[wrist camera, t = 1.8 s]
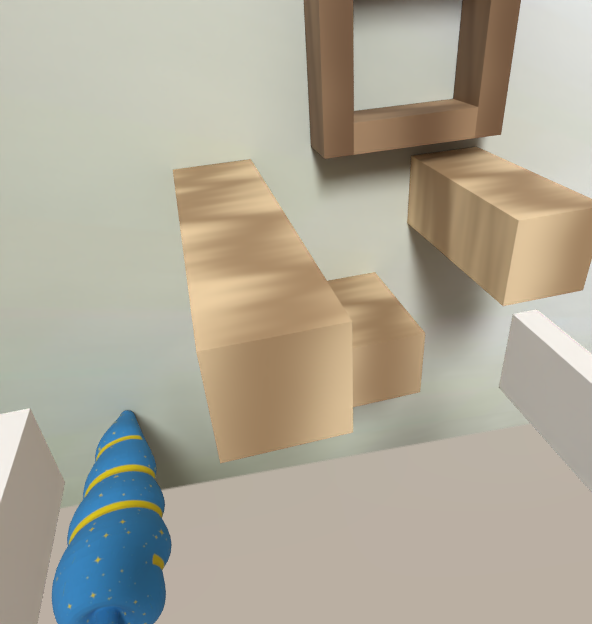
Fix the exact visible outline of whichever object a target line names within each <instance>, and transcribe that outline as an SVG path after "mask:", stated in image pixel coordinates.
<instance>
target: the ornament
mask: <svg viewBox="0 0 592 624" xmlns="http://www.w3.org/2000/svg"><path fill="white" fill-rule="evenodd" d="M155 476H156V463H155V459H154V456H153V454H152V452H151V450H150V448H149V446H148V444H147V442H146V440H145V438H144V436H143V434H142V431H141V429H140V427H139V425H138V422H137V420H136V417H135V415H134V413H133V412H132V411H129V410H126V411H124V412H122V413H121V415H120V416H119V418H118V419H117V420H116V421H115V422H114V424H113V425H112V426H111V427H110V428H109V429H108V430H107V431H106V433H105V434H104V435H103V437H102V438H101V440H100V442H99V444H98V447H97V450H96V455H95V464H94V466H93V467H92V469H91V471H90V473H89V475H88V477H87V480H86V482H85V487H84V492H83V501H82V502H81V503H80V505H79V507H78V508H77V510H76V512H75V514H74V516H73V518H72V521H71V523H70V526H69V531H68V537H67V544H68V547H67V549H66V550H65V552H64V554H63V556H62V558H61V560H60V562H59V565H58V567H57V570H56V573H55V577H54V580H53V586H52V605H53V612H54V615H55V618H56V621H57V623H58V624H153V623H155V621H156V620H157V619H158V617H159V616H160V615H161V612H162V611H163V608H164V604H165V598H166V590H165V582H164V577H163V572H162V569H163V568H164V566H165V565H166V563H167V561H168V559H169V556H170V553H171V539H170V535H169V532H168V529H167V527H166V525H165V523H164V521H163V520H162V516H163V512H164V507H165V502H164V497H163V494H162V491H161V489H160V487H159V486H158V484H157V482H156V481H155Z"/></svg>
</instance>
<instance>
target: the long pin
mask: <svg viewBox="0 0 592 624" xmlns="http://www.w3.org/2000/svg"><path fill="white" fill-rule="evenodd" d="M173 175H174V183H175V190H176V198H177V206H178V214H179V221H180V229H181V237H182V244H183V252H184V260H185V268H186V275H187V283H188V291H189V298H190V306H191V314H192V322H193V329H194V337H195V345H196V352H197V357H198V362H199V366H200V371H201V375H202V380H203V385H204V389H205V394H206V399H207V403H208V408H209V413H210V417H211V422H212V427H213V431H214V436H215V440H216V445H217V450H218V454H219V459H220V463H224V462H228V461H232V460H237V459H241V458H245V457H250V456H254V455H258V454H262V453H267V452H271V451H275V450H280V449H284V448H288V447H292V446H297V445H301V444H305V443H310V442H314V441H318V440H322V439H327V438H331V437H335V436H340V435H344V434H348V433H352V432H353V355H352V320H351V319H350V317H349V316H348V314H347V312H346V311H345V309H344V308H343V306H342V304H341V303H340V301H339V300H338V298H337V296H336V295H335V293H334V292H333V290H332V288H331V287H330V285H329V284H328V282H327V280H326V279H325V277H324V276H323V274H322V272H321V271H320V269H319V268H318V266H317V264H316V263H315V261H314V260H313V258H312V256H311V255H310V253H309V252H308V250H307V248H306V247H305V245H304V244H303V242H302V240H301V239H300V237H299V236H298V234H297V232H296V231H295V229H294V228H293V226H292V224H291V223H290V221H289V220H288V218H287V216H286V215H285V213H284V212H283V210H282V208H281V207H280V205H279V204H278V202H277V201H276V199H275V197H274V196H273V194H272V193H271V191H270V189H269V188H268V186H267V185H266V183H265V181H264V180H263V178H262V177H261V175H260V173H259V172H258V170H257V169H256V167H255V165H254V164H253V162H252V161H251V159H249V160H242V161H234V162H227V163H219V164H212V165H204V166H197V167H190V168H182V169H175V170H173Z"/></svg>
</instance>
